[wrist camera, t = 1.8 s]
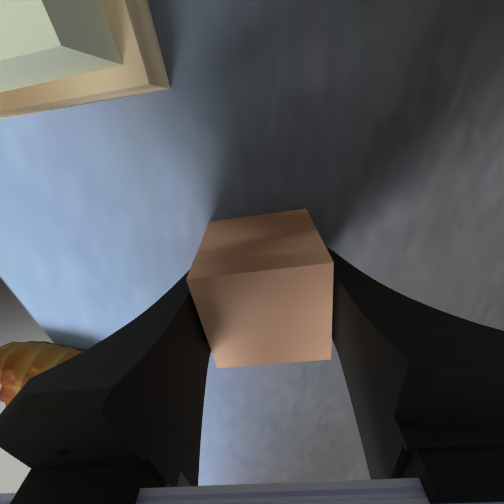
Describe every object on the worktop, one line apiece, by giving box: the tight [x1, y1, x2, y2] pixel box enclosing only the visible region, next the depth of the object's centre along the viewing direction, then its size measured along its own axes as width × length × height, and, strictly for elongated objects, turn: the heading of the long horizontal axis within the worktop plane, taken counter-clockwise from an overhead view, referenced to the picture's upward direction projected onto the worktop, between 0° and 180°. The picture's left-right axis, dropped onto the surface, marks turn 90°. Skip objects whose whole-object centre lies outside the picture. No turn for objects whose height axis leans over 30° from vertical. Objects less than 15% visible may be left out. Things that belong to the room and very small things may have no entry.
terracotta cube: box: [186, 209, 334, 368], centre depth 10 cm, size 4×4×4 cm
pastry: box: [0, 341, 83, 407], centre depth 16 cm, size 9×7×4 cm
